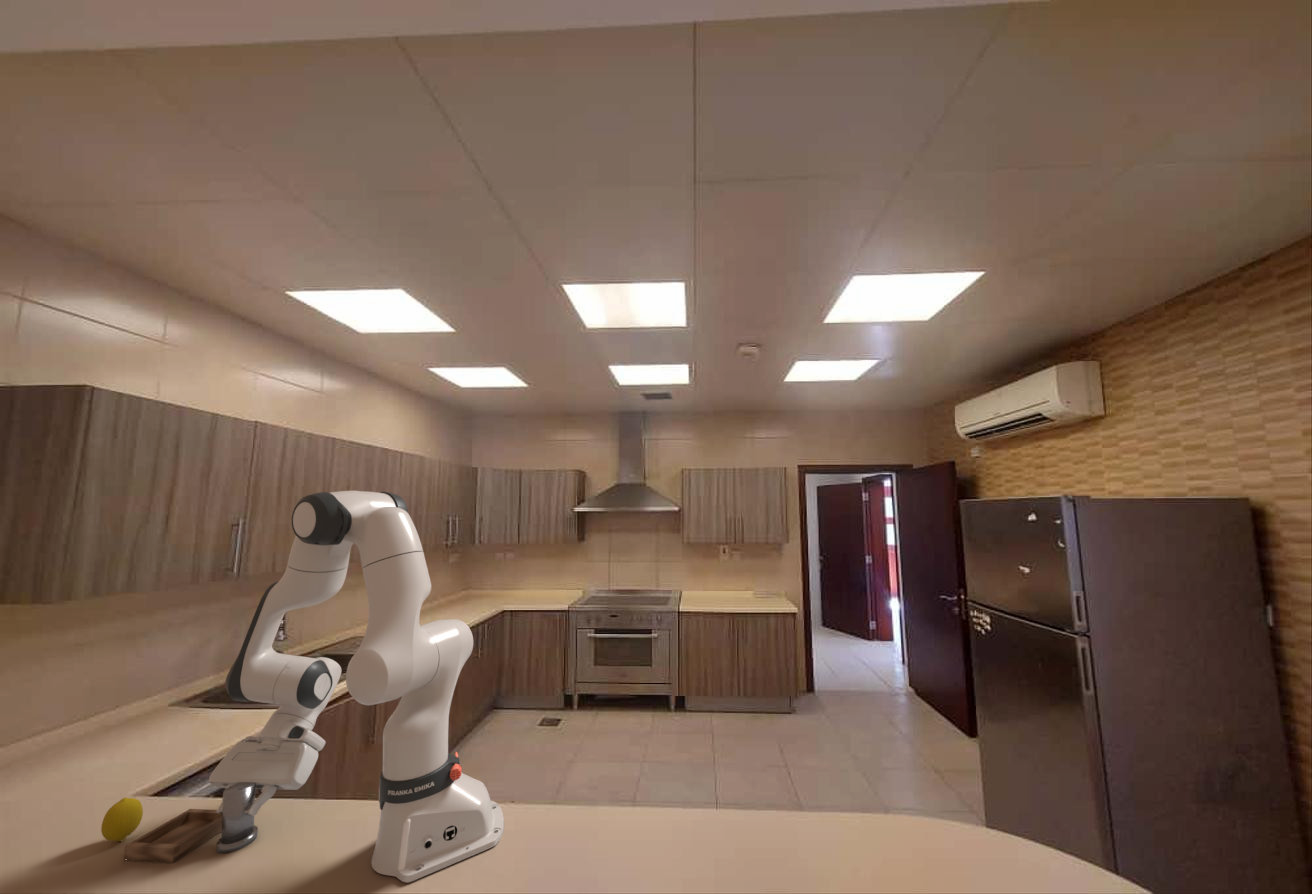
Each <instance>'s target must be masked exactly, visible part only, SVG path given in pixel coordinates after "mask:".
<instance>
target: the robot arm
mask: <svg viewBox="0 0 1312 894" xmlns="http://www.w3.org/2000/svg"><path fill="white" fill-rule="evenodd" d="M291 514H292V515H291V528H292V530H293V533H294V534H295V537H294V539H293V541H292V542H293V543H292V546H291V547H290V548H291V549H290V553H289V556H288V559H287V565H286V567H285V568H286V569H285V571H284V573H283V575H282V577H281V578H280V579H279V581H275V582H273V583H271V584H270V585H269V586H268V587H267V588H266V590H265V591H264V593H263V595H262V597H261V599H260V600H259V603H258V605H257V607H256V609H255V612H254V614H253V616H252V619H251V622H250V624H249V628H248V629H247V632H246V635H245V637H244V640H243V642H242V645H241V648H240V650H239V651H238V652H239V653H238V655H237V656H236V659H235V660H234V662H233V663H232V665H231V667H230V668H229V671H228V673H227V675H226V679H225V682H224V683H225V689H226V692H227V694H228V696H229V698H230V699H231V700H232V701H235V702H251V703H252V702H253V703H255V702H258V703H263V704H270V705H271V704H272V705H280V706H279V707H278V708H277V709H276V710H275V711H274V712H273V713H272V714H271V716H270V717H269V719H268V720H267V722H266V723H265V725H264V726H263V728H262V730H261V731H260V732H259V734H258V735H257V736H252V735H250V736H246V737H245V738H243V739H241V740H240V741H238V742H237V743H235V745H234V746H233V747H231V749H230V750H228V752H227V753H226V754H225V756H223V758H222V759H221V760H220V762H219V763H218V764H217V766H216V767H214V770H213V771H212V772H211V774H210V775H209V780H208V783H209V784H211V785H212V786H214V787H217V788H221V789H222V788H223V789H227V788H228V787H230V786H232V785H234V784H236V783H239V782H255V784H256V785H255V790H257V789H258V790H260V792H261V793H260V794H259V795H258V796H257V798H255V801H254V802H249V804H248V806H247V808H246V809H245V811H244V814H246V815H248V816H254V817H255V816H256V815H257V814H258V813H259V811H260V809H261V808H262V806H264V805H265V803H266V802H267V801H269V800H270V799H271V798H272V797H273V796H274V795H275V793H276V791H277V790H292V791H293V790H294V791H296V790H299V789H301V787H302V786H304V785H305V784H306V782H307V781H308V779H309V777H310V775H311V774H312V772H313V770H314V768H315V765H316V764H317V762H318V759H319V752H320V751H322V750H323V749H324V747H325V745H326V740H325V739H324V738H323V737H321V736H320V735H319V734H317V733H316V732H314V731H313V729H314V727H315V725H316V722H317V719H318V717H319V715H320V714H321V713H322V712H323V711H324V709H326V706H327V705H328V703H329V701H330V700H331V698H332V695H333V694H334V692H335V690H336V688H337V686H338V683H339V681H340V678H341V676H342V666H341V665H340V664H339V663H338V662H337V661H335V660H334V659H332V658H329V657H323V656H320V657H319V656H318V657H309V656H301V655H293V654H287V653H286V654H285V653H281V652H277V651H275V650H274V648H273V643H274V641H275V638H276V636H277V633H278V631H279V629H280V625H281V623H282V620H283V617H284V615H285V614H286V613H287V612H290V611H294V610H299V609H304V608H310V607H314V606H317V605H319V604H322V603H325V602H326V601H328V600H329V599H331V598H333V597H334V596H336V595H337V594H338V593H339V591H340V590H341V589H342V588H343V585H344V584H345V581H346V579H347V574H348V569H349V564H350V558H351V557H350V556H351V551H352V550H351V549H352V547H353V545H355V546H356V547H357V549H358V551H359V552H358V553H359V556H360V564H361V569H362V573H363V579H364V584H365V589H366V595H367V596H366V597H367V600H368V602H367V603H368V620H367V625H366V630H365V634H364V636H363V639H362V642H361V643H360V645H359V648H358V649H357V650H356V652H355V653H354V654H353V656H352V657H351V659H350V660H349V662H348V665H347V667H346V674H345V684H346V687H347V690H348V693H349V694H350V696H351V697H352V699H354V700H355V701H356V702H357V703H359V704H361V705H364V706H373V705H379V704H384V703H386V702H391V701H395V700H398V699H399V698H400V700H399V702H398V704H397V706H396V708H395V710H394V711H393V712H392V714H391V715H390V717H389V718H388V720H387V721H386V723H385V725H384V727H383V732H382V771H381V773H380V776H379V782H378V803H379V809H380V817H379V824H378V825H379V826H378V832H377V836H376V842H375V846H374V850H373V854H372V855H371V856H372V857H371V862H370V863H371V867H372V869H373V870H374V871H375V872H376V873H378V874H380V875H384V876H392V877H396V878H397V879H398V880H399V881H401V882H403V883H407V884H408V883H411V882H414V881H417V880H418V879H421V878H423V877H426V876H428V875H430V874H432V873H435V872H438V871H441V870H442V869H444V868H447V867H449V866H451V865H454V864H456V863H458V862H461V861H463V860H466V859H468V858H471V857H472V856H475V855H477V854H480V853H482V852H484V851H486V850H489V849H491V848H493V847H495V846H496V845H497V844H498V843H499V842H500V840H501V838H502V836H503V834H504V828H505V821H504V820H505V819H504V813H503V809H502V808H501V806H500V804H498V803H497V802H496V801H494V800H491V798H490V794H489V791H488V788H487V786H486V785H485V783H484V782H482V781H481V780H478V779H476V778H473V777H472V776H470V775H467V774H465V773H463V772H462V771H463V769H462V765H461V763H460V758H459V754H458V752H457V751H455V755H454V754H452V753H450V752H449V722H450V721H449V718H450V709H451V705H452V700H453V696H454V692H455V689H456V686H457V682H458V680H459V676H460V674H461V671H462V669H463V668H464V665H466V662H467V661H468V659H469V658H470V656H471V655H472V652H473V648H474V636H473V632H472V631H471V629H470V627H469V625H468V624H467V623H466V622H464V621H463V620H461V619H457V618H453V619H452V618H450V619H448V618H445V619H436V620H433V621H431V622H428V623H424V624H420V619H421V618H420V616H421V609H422V607H423V604H424V601H426V599H427V598H428V597H429V596H430V594H431V592H432V582H431V578H430V574H429V569H428V565H427V562H426V557H425V552H424V549H423V545H422V542H421V539H420V535H419V533H418V531H417V528H416V525H415V524H414V522H413V520H412V518H411V516H410V514H409V508H408V506H407V503H406V501H405V499H404V498H403V497H401V496H400V495H398V494H397V493H392V492H387V491H380V492H377V491H366V490H365V491H364V490H363V491H362V490H361V491H360V490H340V491H331V492H327V491H321V492H320V491H319V492H316V493H315V492H314V493H310V494H308V495H305V496H303V497H302V498H300V499H299V500H298V502H297V503H296V505H295V507H294V509H293V511H292V513H291ZM216 810H217V813H218V814H220V815H222V810H223V798H222V801H221V803H220V804H219V806H218V808H217V809H216Z"/></svg>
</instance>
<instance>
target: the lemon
mask: <svg viewBox="0 0 1312 894" xmlns="http://www.w3.org/2000/svg"><path fill="white" fill-rule="evenodd" d="M143 814H144V809H143V805H142V803H141V801H140V800H139V799H137V798H134V797H122V798H121V799H120V800H119V801H118V802H115V803H114V804H113V805H112V806H111V807H109V809H108V810H107V811H106V813H105V815H104V816H103V820H102V823H101V829H100V830H101V835H102V837H103V838H104V839H105V840H107V841H111V842H118V841H121V840H123V839H124V840H125V839H126V838H127V837H128V836H130V835H131V834H132V833H134V832H135V831H136V829H137V828H138V827H139V825H140V824H141V821H142V819H143ZM124 840H123V841H124ZM121 842H122V841H121Z"/></svg>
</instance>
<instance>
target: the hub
mask: <svg viewBox="0 0 1312 894" xmlns="http://www.w3.org/2000/svg"><path fill="white" fill-rule="evenodd" d="M255 785H256V784H255V782H239V783H236V784H234V785H232V786H230V787H228V788H227V789H226V788H224V790H223V793H222V799H223V810H222V831H221V832H220V833H221V835H220V836H221V837H220V838H219V839H218V841H216V849H215V850H216V853H217V854H223V855H224V854H225V855H226V854H229V853H234V852H237V851H239V850H240V849H243V848H246V847H247V846H248V845H250V844H252V843H253V842H254V841H255V840H256V839H257V838H258V834H259V833H258V832H259V830H258V829H259V828H258V825H257V826H256V825H255V816H248V815H246V814H244V811H245V809H246V808H247V806H248V804H249V802H254V801H255V800H256V789H255Z"/></svg>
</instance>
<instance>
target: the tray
mask: <svg viewBox="0 0 1312 894" xmlns="http://www.w3.org/2000/svg"><path fill="white" fill-rule="evenodd" d="M221 831H222V815H220V814H218V813H217V809H207V808H206V809H201V808H198V809H197V808H189V809H187V810H186V811H184V812H182V813H180V814H178V815H177V816H175V817H174V818H171V819H170V820H168V821H166V822H164V823H163V824H161V825H159V826H157V827H155V828H154V829H152V830H150V831H148V832H147V833H145V834H143V835H141V836H140V837H138V838H137V839H135V840H133V841H130V842H129V843H127V844H126V845H124V851H123V852H124V854H123V860H124V859H127V860H134V861H133V862H144V861H147V862H148V863H149V862H150V863H163V862H164V863H165V864H169V863H170V864H174V863H175V862H176V861H178V860H180V859H182V858H183V857H185V856H186V855H188V854H189V853H191V852H192V851H194V850H196V849H197V848H199V847H200V846H201V845H203V844H205V843H206V842H207V841H209V840H210V839H212V838H215V836H217V835H218V834H220V833H221Z"/></svg>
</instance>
